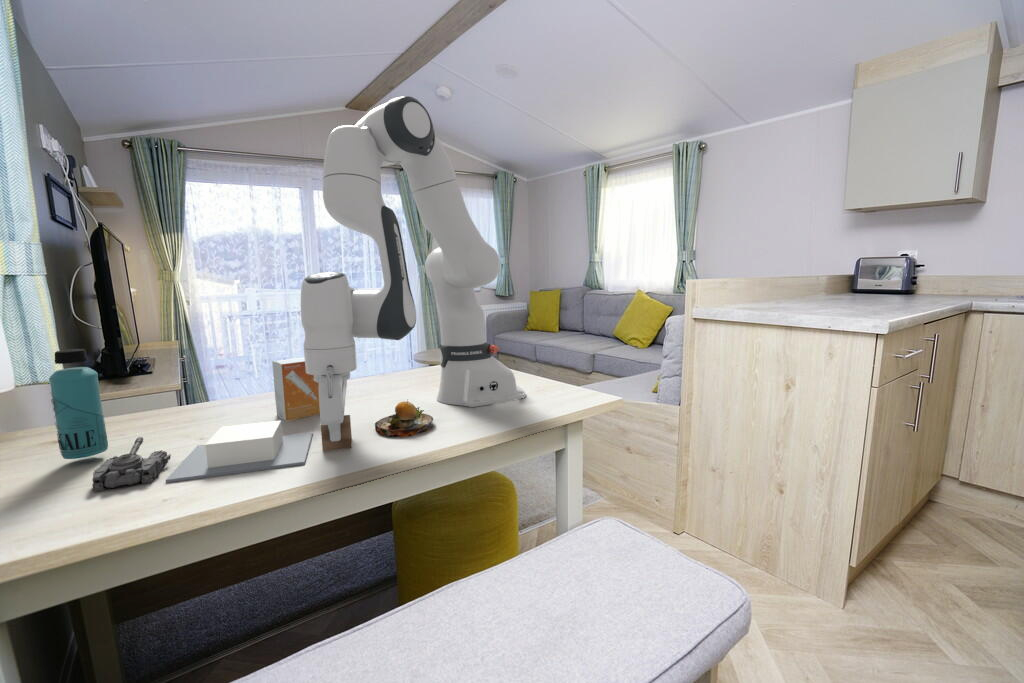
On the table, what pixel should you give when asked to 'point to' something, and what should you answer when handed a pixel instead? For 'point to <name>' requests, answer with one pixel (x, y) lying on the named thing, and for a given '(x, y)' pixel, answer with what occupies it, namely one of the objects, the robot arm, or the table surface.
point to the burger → (404, 421)
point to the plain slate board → (288, 455)
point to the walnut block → (345, 436)
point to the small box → (294, 389)
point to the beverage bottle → (77, 407)
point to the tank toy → (129, 469)
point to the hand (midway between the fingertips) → (336, 433)
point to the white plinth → (244, 443)
